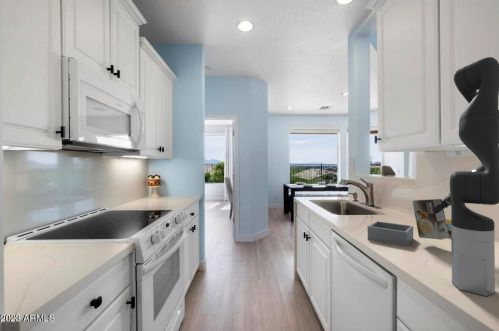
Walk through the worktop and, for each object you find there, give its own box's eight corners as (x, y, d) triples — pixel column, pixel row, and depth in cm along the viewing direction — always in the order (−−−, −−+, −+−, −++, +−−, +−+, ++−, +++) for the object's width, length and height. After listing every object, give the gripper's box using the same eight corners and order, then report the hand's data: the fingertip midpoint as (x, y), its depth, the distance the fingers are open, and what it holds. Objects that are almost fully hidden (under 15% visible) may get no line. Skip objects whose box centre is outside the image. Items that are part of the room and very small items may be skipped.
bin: (407, 246, 105) (407, 232, 105) (367, 238, 116) (367, 226, 116) (413, 238, 116) (413, 226, 116) (376, 232, 127) (376, 221, 127)
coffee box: (450, 237, 101) (443, 198, 104) (440, 240, 99) (433, 199, 101) (427, 235, 110) (420, 199, 112) (417, 237, 107) (411, 200, 109)
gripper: (463, 176, 103) (429, 201, 110) (462, 177, 92) (424, 205, 100) (481, 189, 99) (445, 215, 107) (481, 192, 89) (441, 220, 96)
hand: (435, 210), depth 103 cm, fingers closed on coffee box, 7 cm apart
